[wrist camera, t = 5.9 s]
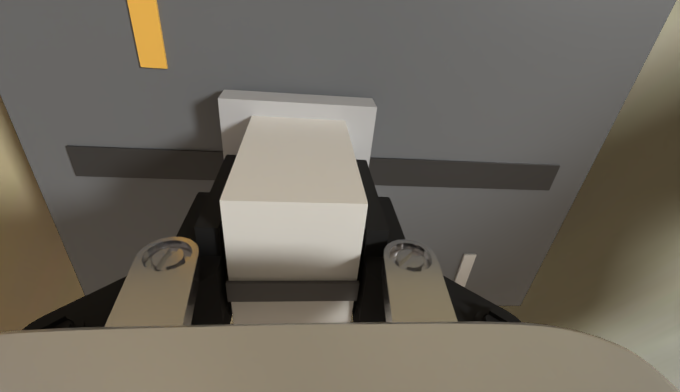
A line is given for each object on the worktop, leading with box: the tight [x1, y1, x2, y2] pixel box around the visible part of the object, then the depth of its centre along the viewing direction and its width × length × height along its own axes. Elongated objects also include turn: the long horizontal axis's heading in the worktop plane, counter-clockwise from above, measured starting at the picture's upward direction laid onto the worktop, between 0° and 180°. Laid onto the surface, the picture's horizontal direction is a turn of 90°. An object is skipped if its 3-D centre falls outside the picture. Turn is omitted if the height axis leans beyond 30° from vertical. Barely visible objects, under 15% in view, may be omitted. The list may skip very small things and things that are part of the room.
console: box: [0, 0, 676, 306], centre depth 15 cm, size 22×16×3 cm
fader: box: [218, 89, 377, 324], centre depth 11 cm, size 5×6×6 cm
